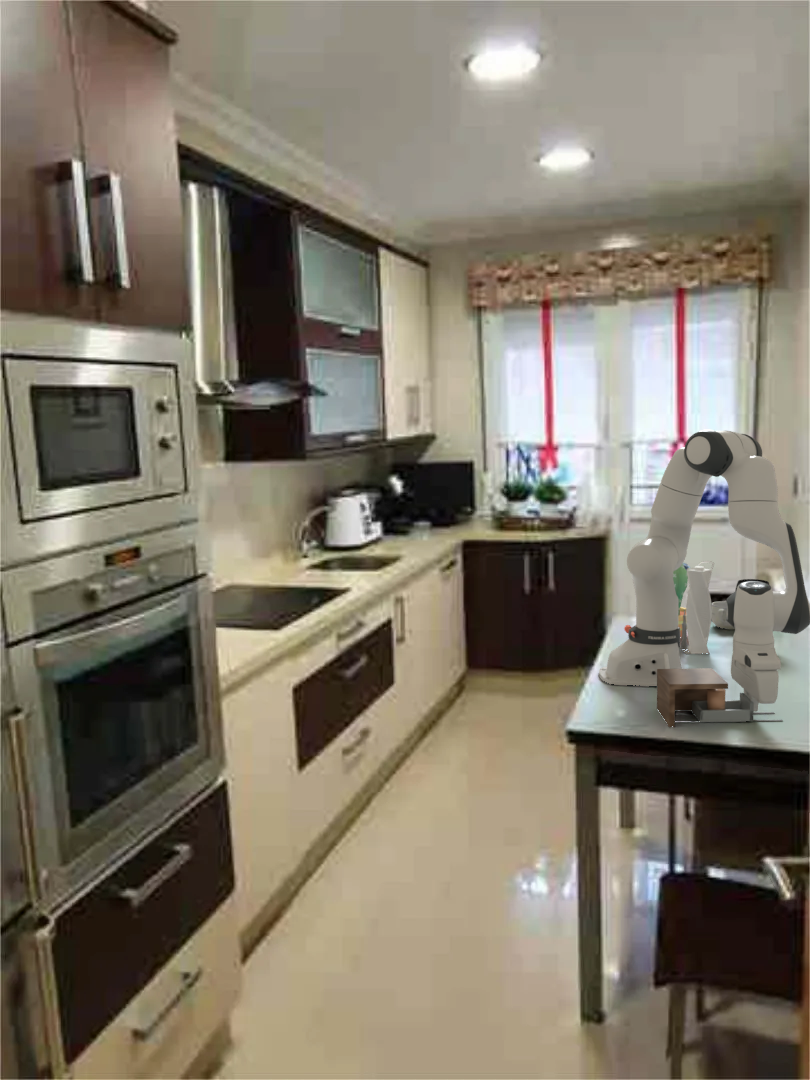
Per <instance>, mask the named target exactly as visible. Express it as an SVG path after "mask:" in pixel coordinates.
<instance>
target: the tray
mask: <svg viewBox="0 0 810 1080" xmlns="http://www.w3.org/2000/svg"><path fill="white" fill-rule="evenodd" d="M753 712H754V702H753V701H751V700H750V699H749V698H748V697H747V696H746V695H744V692H740V693H739V699H736V700H735V699H734V700H733V699H731V700H730V699H729V700H727V699H725V710H707V701H692V711H691V713H693V714H694V715H693V716H694V717H696V719H697V720H699V721H700V722H699V723H731V722H732V723H739V722H740V723H744V722H745V723H747V722H746V721H753V720H754V714H753Z"/></svg>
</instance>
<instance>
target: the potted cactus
mask: <svg viewBox="0 0 810 1080" xmlns="http://www.w3.org/2000/svg"><path fill="white" fill-rule="evenodd" d="M688 568H691V566H690V565H689V564H687V562H683V564H682V565H681V566H680V567H679V568H678V569H677V570H675V571H674V572H673V581H674V586H675V591H676V595H677V596H678V599H679V613H678V627H680V637H682V623H683V615H684V609H685V615H686V607H683V606H681V605H682V603H683V602H682V601H683V597H684V594H685V591H686V589H687V588H688V583H689V582H688V576H687V569H688ZM686 629H687V627H686Z"/></svg>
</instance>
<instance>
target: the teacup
mask: <svg viewBox="0 0 810 1080" xmlns="http://www.w3.org/2000/svg"><path fill="white" fill-rule="evenodd" d="M711 607H712V616H711V623H713V624H714V625H715V626H716V627H717V628H719V627H720V628H719V629H723V628H725V629H724V630H735V628H734V627H733V626H731V625H730V624H729V623H728V622H727V621H726V619H727V610H728V605H727V601H725V600H723V601H722V600H721V601H714V602H711Z"/></svg>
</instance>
